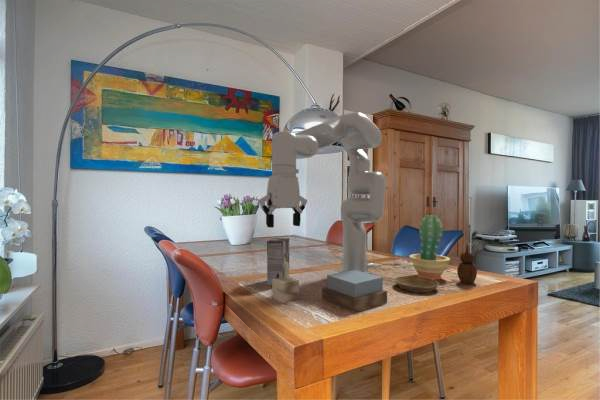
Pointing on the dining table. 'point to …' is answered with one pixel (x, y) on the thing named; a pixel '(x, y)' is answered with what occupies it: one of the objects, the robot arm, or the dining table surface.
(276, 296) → the maple cube
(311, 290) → the dining table surface
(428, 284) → the plant saucer
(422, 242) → the potted cactus
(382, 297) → the tower bottom
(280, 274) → the coffee box
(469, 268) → the wooden figurine
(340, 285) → the tower top
